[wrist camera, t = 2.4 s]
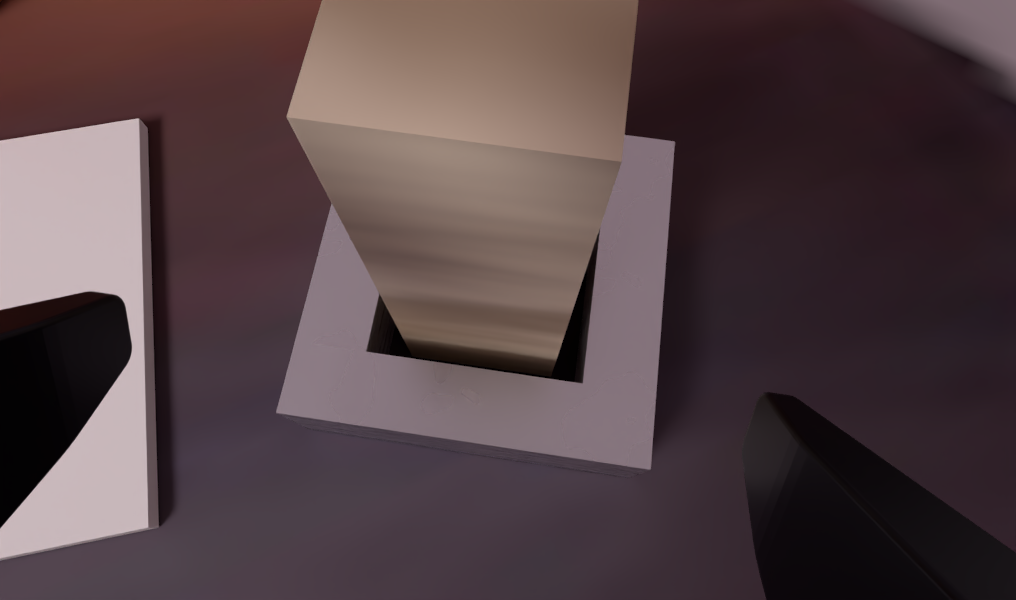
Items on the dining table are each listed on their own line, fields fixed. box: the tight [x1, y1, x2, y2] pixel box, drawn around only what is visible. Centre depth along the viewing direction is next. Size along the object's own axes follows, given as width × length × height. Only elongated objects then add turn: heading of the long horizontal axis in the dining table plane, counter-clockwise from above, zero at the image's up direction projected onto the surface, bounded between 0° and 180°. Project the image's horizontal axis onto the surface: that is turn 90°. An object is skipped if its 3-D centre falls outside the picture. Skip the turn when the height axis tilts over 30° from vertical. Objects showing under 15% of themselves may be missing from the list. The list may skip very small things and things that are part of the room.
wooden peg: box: [287, 0, 638, 377], centre depth 15 cm, size 4×4×13 cm
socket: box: [276, 135, 675, 478], centre depth 20 cm, size 10×10×3 cm
